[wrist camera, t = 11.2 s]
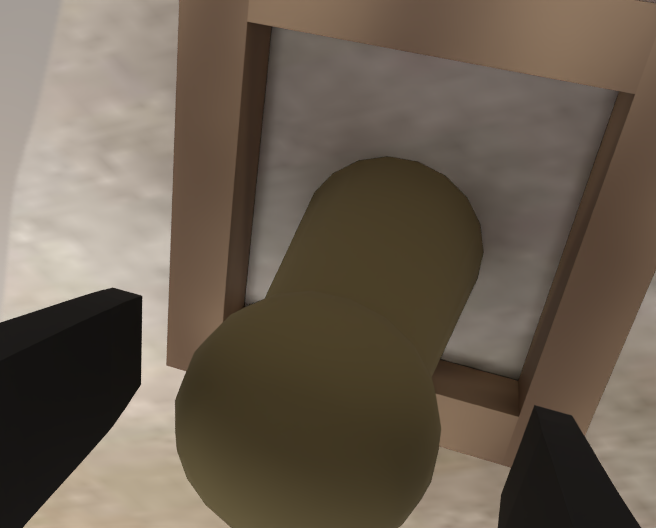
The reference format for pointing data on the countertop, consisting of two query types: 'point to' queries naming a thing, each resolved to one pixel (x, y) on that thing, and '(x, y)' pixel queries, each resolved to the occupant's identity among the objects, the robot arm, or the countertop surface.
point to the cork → (336, 359)
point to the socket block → (460, 45)
